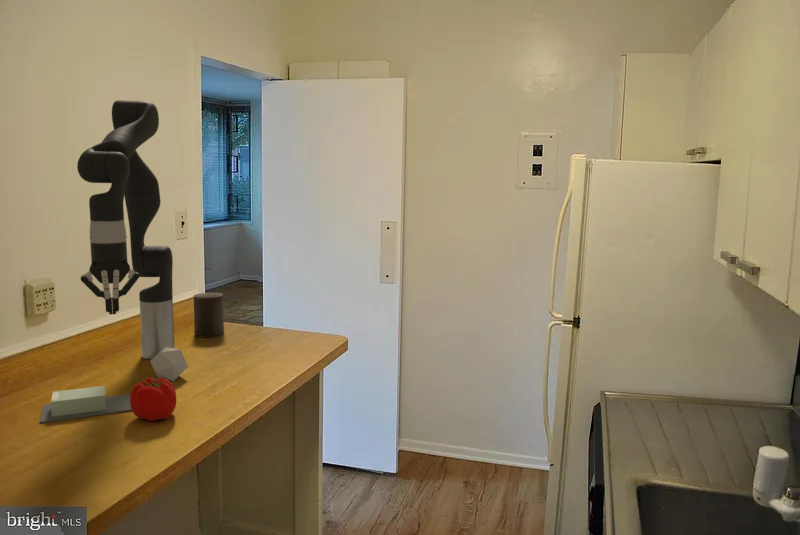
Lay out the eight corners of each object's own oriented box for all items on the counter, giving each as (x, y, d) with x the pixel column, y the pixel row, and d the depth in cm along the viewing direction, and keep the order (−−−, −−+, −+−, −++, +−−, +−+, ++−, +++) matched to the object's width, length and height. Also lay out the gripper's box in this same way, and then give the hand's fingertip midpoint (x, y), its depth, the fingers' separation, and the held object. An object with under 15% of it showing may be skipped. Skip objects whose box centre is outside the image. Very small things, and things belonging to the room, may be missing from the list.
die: (195, 378, 170) (186, 345, 174) (181, 372, 162) (173, 337, 166) (165, 389, 170) (157, 356, 173) (150, 384, 161) (142, 348, 165)
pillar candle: (208, 339, 207) (207, 295, 205) (188, 334, 212) (186, 291, 210) (230, 333, 216) (229, 290, 213) (210, 329, 220) (209, 287, 218)
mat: (43, 406, 147) (43, 404, 147) (135, 394, 156) (135, 393, 155) (40, 423, 137) (39, 421, 137) (138, 410, 146) (138, 408, 146)
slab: (105, 399, 151) (53, 406, 146) (104, 385, 150) (52, 391, 145) (105, 410, 144) (51, 416, 140) (105, 395, 144) (50, 401, 139)
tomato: (150, 430, 135) (148, 392, 133) (119, 419, 140) (117, 382, 139) (190, 415, 143) (189, 378, 142) (159, 405, 149) (158, 370, 148)
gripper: (138, 237, 149) (142, 308, 152) (76, 239, 143) (81, 312, 146) (140, 240, 142) (144, 314, 145) (75, 242, 137) (80, 319, 139)
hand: (112, 313), depth 145 cm, fingers closed
